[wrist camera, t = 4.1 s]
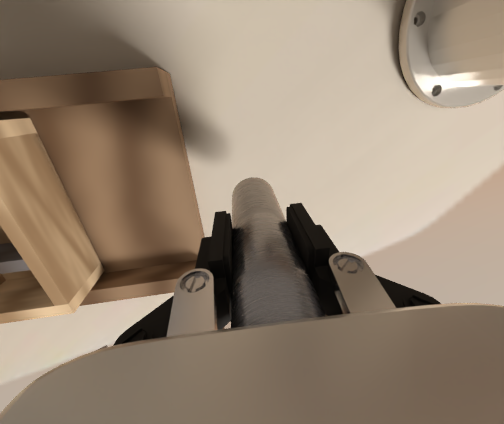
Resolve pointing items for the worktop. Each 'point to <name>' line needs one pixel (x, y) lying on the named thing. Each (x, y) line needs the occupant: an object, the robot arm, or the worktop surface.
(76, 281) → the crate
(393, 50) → the worktop surface
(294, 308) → the handle peg
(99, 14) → the worktop surface
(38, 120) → the bay
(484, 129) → the worktop surface
